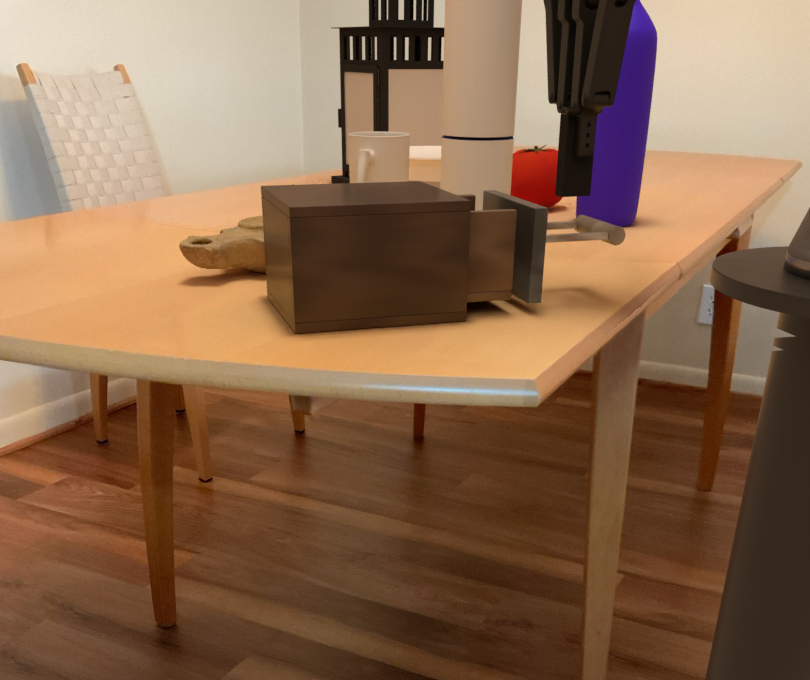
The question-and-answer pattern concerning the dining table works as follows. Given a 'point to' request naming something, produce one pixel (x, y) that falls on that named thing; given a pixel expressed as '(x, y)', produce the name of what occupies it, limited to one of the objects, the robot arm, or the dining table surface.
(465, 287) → the cabinet
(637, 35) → the bottle
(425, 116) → the lantern
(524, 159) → the tomato
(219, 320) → the dining table surface
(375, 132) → the mug
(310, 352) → the dining table surface
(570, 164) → the robot arm
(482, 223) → the drawer
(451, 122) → the cylindrical container
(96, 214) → the dining table surface
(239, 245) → the oil lamp
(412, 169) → the bowl
